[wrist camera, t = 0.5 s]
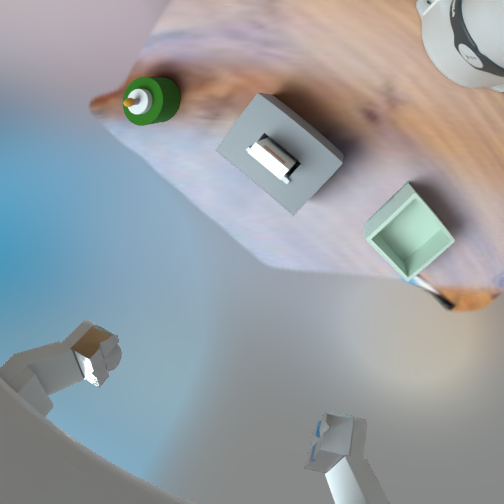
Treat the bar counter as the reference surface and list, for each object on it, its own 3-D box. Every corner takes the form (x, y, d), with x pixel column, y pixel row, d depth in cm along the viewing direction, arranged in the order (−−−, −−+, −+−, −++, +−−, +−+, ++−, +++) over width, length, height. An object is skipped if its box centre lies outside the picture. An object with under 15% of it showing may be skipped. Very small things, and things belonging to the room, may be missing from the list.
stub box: (407, 181, 42) (414, 192, 37) (445, 225, 42) (455, 240, 37) (363, 223, 47) (365, 239, 42) (402, 263, 48) (407, 282, 43)
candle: (170, 69, 44) (135, 66, 36) (187, 110, 47) (153, 114, 38) (136, 91, 48) (99, 93, 39) (151, 129, 50) (115, 137, 42)
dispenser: (272, 94, 42) (256, 92, 35) (344, 154, 43) (344, 165, 36) (235, 143, 47) (213, 151, 40) (303, 199, 48) (293, 218, 41)
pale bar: (276, 133, 43) (255, 142, 34) (302, 155, 44) (288, 169, 34) (270, 141, 44) (247, 152, 35) (295, 163, 44) (280, 179, 35)
